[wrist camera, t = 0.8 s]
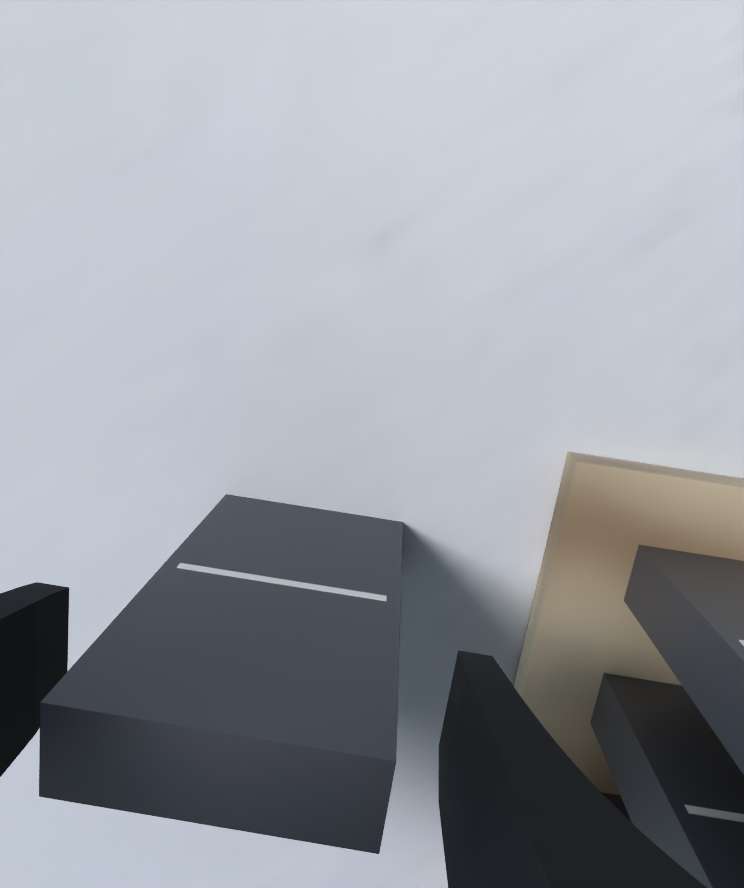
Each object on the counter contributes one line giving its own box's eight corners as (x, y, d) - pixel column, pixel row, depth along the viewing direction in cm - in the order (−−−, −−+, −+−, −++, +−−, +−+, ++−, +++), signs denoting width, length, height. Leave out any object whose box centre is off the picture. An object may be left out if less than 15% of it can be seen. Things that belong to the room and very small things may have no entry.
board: (692, 1070, 21) (705, 1108, 20) (434, 1025, 22) (436, 1060, 21) (909, 504, 16) (941, 517, 15) (567, 451, 16) (577, 462, 15)
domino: (394, 575, 18) (378, 854, 9) (221, 547, 18) (39, 797, 9) (402, 521, 17) (396, 759, 8) (226, 493, 17) (40, 701, 9)
